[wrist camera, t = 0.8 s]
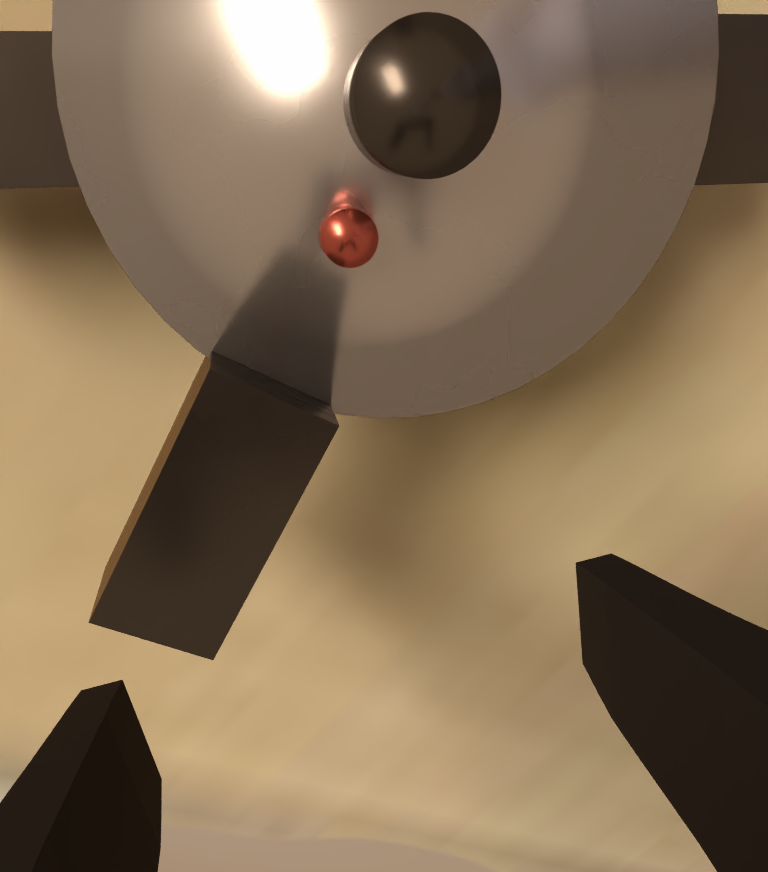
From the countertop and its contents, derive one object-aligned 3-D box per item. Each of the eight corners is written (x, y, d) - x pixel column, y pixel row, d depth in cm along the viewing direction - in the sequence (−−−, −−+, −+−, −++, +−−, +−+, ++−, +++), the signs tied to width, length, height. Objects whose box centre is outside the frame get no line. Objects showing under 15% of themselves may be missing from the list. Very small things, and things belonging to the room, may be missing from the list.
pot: (704, -148, 17) (850, -239, 13) (649, 318, 21) (748, 359, 17) (-225, -195, 14) (-415, -336, 10) (-75, 367, 18) (-165, 431, 14)
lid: (245, -526, 10) (246, -676, 8) (807, -22, 14) (893, -48, 12) (-128, 489, 14) (-182, 540, 12) (388, 660, 18) (406, 718, 16)
